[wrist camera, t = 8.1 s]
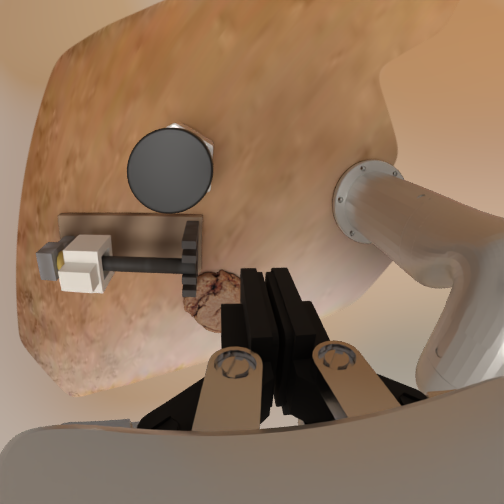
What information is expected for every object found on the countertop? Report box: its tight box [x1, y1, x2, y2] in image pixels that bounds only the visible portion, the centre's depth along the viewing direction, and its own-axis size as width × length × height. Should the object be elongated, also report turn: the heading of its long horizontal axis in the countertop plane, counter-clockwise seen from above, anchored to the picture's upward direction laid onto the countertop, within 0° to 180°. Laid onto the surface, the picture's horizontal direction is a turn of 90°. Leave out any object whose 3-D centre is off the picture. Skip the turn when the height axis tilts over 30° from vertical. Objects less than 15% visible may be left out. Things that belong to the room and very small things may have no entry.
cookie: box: [183, 270, 240, 333], centre depth 45 cm, size 10×11×3 cm
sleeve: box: [58, 235, 114, 293], centre depth 32 cm, size 4×5×8 cm
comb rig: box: [36, 213, 203, 297], centre depth 36 cm, size 21×8×9 cm, turn 85°
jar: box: [127, 123, 213, 214], centre depth 32 cm, size 9×8×12 cm
